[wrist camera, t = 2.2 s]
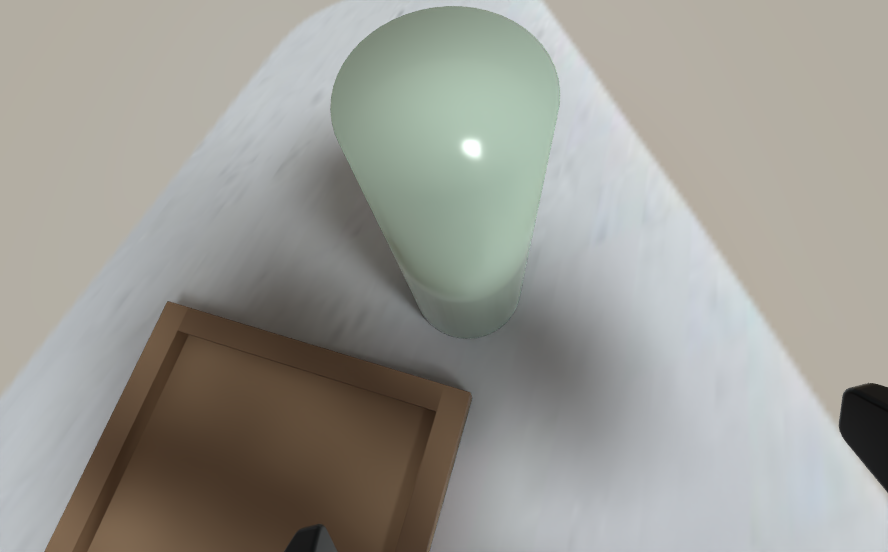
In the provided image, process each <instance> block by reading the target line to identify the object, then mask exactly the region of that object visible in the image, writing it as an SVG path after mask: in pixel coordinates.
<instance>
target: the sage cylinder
mask: <svg viewBox="0 0 888 552" xmlns="http://www.w3.org/2000/svg"><path fill="white" fill-rule="evenodd" d="M559 105H560V87H559V79H558V76H557V72H556V69H555V66H554V64H553V62H552V60H551V58H550V56H549V54H548V53H547V51H546V50H545V48H544V47H543V45H542V44H541V43H540V42H539V41H538V40H537V39H536V38H535V37H534V36H533V35H532V34H531V33H530V32H528V31H527V30H526V29H525V28H523V27H522V26H520V25H519V24H517V23H515V22H514V21H512V20H510V19H508V18H506V17H504V16H501V15H499V14H496V13H493V12H490V11H486V10H482V9H477V8H470V7H461V6H446V7H435V8H429V9H424V10H419V11H416V12H412V13H409V14H406V15H403V16H401V17H399V18H396V19H394V20H392V21H390V22H388V23H386V24H384V25H383V26H381V27H379V28H378V29H376V30H375V31H374V32H372V33H371V34H369V35H368V36H367V37H366V38H365V39H364V40H362V41H361V42H360V43H359V44H358V45H357V47H356V48H355V49H354V50H353V51H352V52H351V53H350V55H349V56H348V58H347V59H346V60H345V62H344V63H343V65H342V67H341V69H340V71H339V73H338V75H337V78H336V80H335V83H334V86H333V91H332V96H331V109H330V110H331V120H332V125H333V129H334V133H335V135H336V138H337V140H338V142H339V144H340V146H341V149H342V151H343V153H344V155H345V157H346V159H347V161H348V163H349V165H350V167H351V169H352V171H353V173H354V175H355V177H356V179H357V181H358V183H359V185H360V187H361V190H362V192H363V194H364V196H365V198H366V200H367V202H368V204H369V206H370V208H371V210H372V212H373V214H374V216H375V218H376V220H377V222H378V224H379V226H380V228H381V231H382V233H383V235H384V237H385V239H386V241H387V243H388V245H389V247H390V249H391V251H392V253H393V255H394V257H395V259H396V261H397V263H398V265H399V267H400V269H401V272H402V274H403V276H404V278H405V280H406V282H407V284H408V286H409V288H410V290H411V292H412V294H413V296H414V298H415V300H416V302H417V304H418V306H419V308H420V310H421V312H422V314H423V316H424V317H425V318H426V320H427V321H428V322H429V323H430V324H431V325H432V326H433V327H435V328H436V329H437V330H439V331H441V332H443V333H444V334H447V335H449V336H452V337H457V338H465V339H470V338H478V337H482V336H486V335H488V334H490V333H493V332H495V331H496V330H498V329H499V328H501V327H502V326H503V325H504V324H505V323H506V322H507V321H508V320H509V319H510V318H511V316H512V315H513V313H514V311H515V309H516V307H517V305H518V302H519V298H520V293H521V288H522V284H523V279H524V274H525V269H526V264H527V260H528V255H529V250H530V245H531V240H532V236H533V231H534V226H535V221H536V216H537V211H538V207H539V202H540V197H541V192H542V187H543V183H544V178H545V173H546V168H547V163H548V159H549V154H550V149H551V144H552V139H553V135H554V130H555V125H556V120H557V115H558V110H559Z"/></svg>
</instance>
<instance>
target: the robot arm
mask: <svg viewBox="0 0 888 552" xmlns="http://www.w3.org/2000/svg"><path fill="white" fill-rule="evenodd" d="M839 430H840V432H841V435H842V437H843V438H844V440H845V441H846V443H847V444H848V445H849V446H850V447H851V449H852V450H853V451H854V452H855V454H856V455H857V456H858V457H859V458H860V460H861V461H862V462H863V463H864V464H865V466H866V467H867V468H868V469H869V471H870V472H871V473H872V474H873V475H874V477H875V478H876V479H877V480H878V482H879V483H880V484H881V485H882V486H883V488H884V489H885V490H886V491H887V492H888V387H885V386H882V385H878V384H874V383H868V384H863V385H859V386H855V387H852V388H848V389H846V390H845V392H844V393H843V397H842V404H841V412H840V419H839ZM284 552H337V549H336V547H335V545H334V543H333V541H332V539H331V537H330V535H329V533H328V531H327V529H326V527H325V526H324V525H323V524H315V525H311V526H307V527H304V528H301V529H299V530H298V531H297V532H296V533H295V535H294V536H293V538H292V539H291V541H290V543H289V544H288V546H287V547H286V549H285V550H284Z"/></svg>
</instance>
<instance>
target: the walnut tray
mask: <svg viewBox="0 0 888 552" xmlns="http://www.w3.org/2000/svg"><path fill="white" fill-rule="evenodd" d="M471 401H472V395H471V393H470V392H467V391H464V390H460V389H457V388H454V387H451V386H447V385H444V384H441V383H437V382H434V381H431V380H427V379H424V378H421V377H417V376H414V375H411V374H407V373H404V372H401V371H398V370H394V369H391V368H388V367H384V366H381V365H378V364H374V363H371V362H368V361H364V360H361V359H358V358H355V357H351V356H348V355H345V354H341V353H338V352H335V351H331V350H328V349H325V348H321V347H318V346H315V345H311V344H308V343H305V342H302V341H298V340H295V339H292V338H288V337H285V336H282V335H278V334H275V333H272V332H268V331H265V330H262V329H258V328H255V327H252V326H249V325H245V324H242V323H239V322H235V321H232V320H229V319H225V318H222V317H219V316H215V315H212V314H209V313H206V312H202V311H199V310H196V309H192V308H189V307H186V306H182V305H179V304H176V303H172V302H169V301H167V303H166V305H165V307H164V309H163V311H162V313H161V316H160V318H159V320H158V322H157V324H156V326H155V328H154V330H153V332H152V334H151V336H150V338H149V340H148V342H147V344H146V346H145V348H144V350H143V352H142V354H141V356H140V358H139V360H138V362H137V364H136V366H135V368H134V370H133V372H132V375H131V377H130V379H129V381H128V383H127V385H126V387H125V389H124V391H123V393H122V395H121V397H120V399H119V401H118V403H117V405H116V407H115V409H114V411H113V413H112V415H111V417H110V419H109V421H108V423H107V425H106V427H105V429H104V431H103V434H102V436H101V438H100V440H99V442H98V444H97V446H96V448H95V450H94V452H93V454H92V456H91V458H90V460H89V462H88V464H87V466H86V468H85V470H84V472H83V474H82V476H81V478H80V480H79V482H78V484H77V486H76V488H75V490H74V493H73V495H72V497H71V499H70V501H69V503H68V505H67V507H66V509H65V511H64V513H63V515H62V517H61V519H60V521H59V523H58V525H57V527H56V529H55V531H54V533H53V535H52V537H51V539H50V541H49V543H48V545H47V547H46V550H45V552H284V550H285V549H286V547H287V546H288V544H289V543H290V541H291V539H292V538H293V536H294V535H295V533H296V532H297V531H298V530H299V529H301V528H304V527H307V526H311V525H315V524H323V525H324V526H325V527H326V529H327V531H328V533H329V535H330V537H331V539H332V541H333V543H334V545H335V547H336V549H337V552H429V551H430V547H431V543H432V540H433V536H434V533H435V529H436V526H437V522H438V518H439V515H440V511H441V508H442V504H443V501H444V497H445V493H446V490H447V486H448V483H449V479H450V476H451V472H452V468H453V465H454V461H455V458H456V454H457V451H458V447H459V443H460V440H461V436H462V433H463V429H464V426H465V422H466V418H467V415H468V411H469V408H470V404H471Z"/></svg>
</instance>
